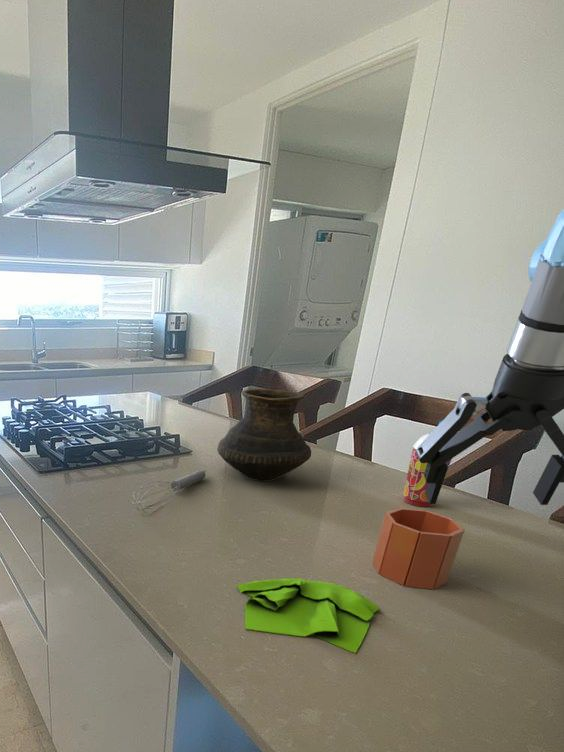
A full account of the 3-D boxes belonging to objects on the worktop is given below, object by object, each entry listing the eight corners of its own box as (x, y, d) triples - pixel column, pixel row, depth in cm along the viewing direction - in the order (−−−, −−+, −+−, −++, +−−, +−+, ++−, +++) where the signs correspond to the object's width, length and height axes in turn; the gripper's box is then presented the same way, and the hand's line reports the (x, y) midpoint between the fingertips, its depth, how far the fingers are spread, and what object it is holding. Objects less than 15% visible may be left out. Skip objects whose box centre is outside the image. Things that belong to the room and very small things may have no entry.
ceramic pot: (315, 472, 138) (331, 391, 128) (291, 498, 119) (308, 406, 110) (233, 457, 150) (242, 383, 141) (200, 478, 131) (208, 394, 122)
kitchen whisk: (214, 479, 131) (217, 456, 128) (149, 521, 106) (150, 494, 103) (194, 474, 134) (196, 452, 132) (126, 514, 109) (126, 488, 106)
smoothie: (406, 493, 123) (428, 415, 115) (442, 503, 117) (469, 421, 109) (392, 501, 118) (414, 419, 110) (429, 512, 112) (456, 426, 104)
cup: (380, 505, 89) (398, 531, 79) (446, 511, 87) (474, 538, 77) (367, 554, 93) (383, 583, 83) (430, 560, 91) (454, 592, 81)
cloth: (394, 608, 76) (398, 595, 75) (335, 675, 62) (339, 661, 61) (275, 562, 89) (277, 550, 88) (205, 608, 75) (206, 595, 74)
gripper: (660, 334, 56) (576, 482, 69) (415, 351, 62) (382, 482, 76) (704, 363, 50) (603, 516, 64) (430, 378, 57) (392, 514, 70)
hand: (483, 498), depth 70 cm, fingers open, 13 cm apart
